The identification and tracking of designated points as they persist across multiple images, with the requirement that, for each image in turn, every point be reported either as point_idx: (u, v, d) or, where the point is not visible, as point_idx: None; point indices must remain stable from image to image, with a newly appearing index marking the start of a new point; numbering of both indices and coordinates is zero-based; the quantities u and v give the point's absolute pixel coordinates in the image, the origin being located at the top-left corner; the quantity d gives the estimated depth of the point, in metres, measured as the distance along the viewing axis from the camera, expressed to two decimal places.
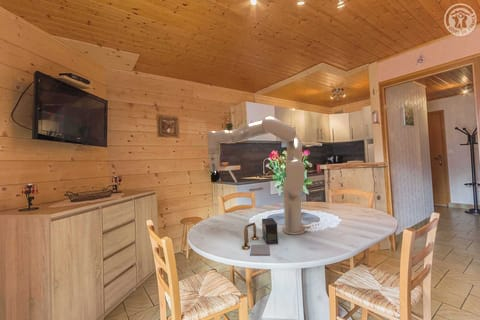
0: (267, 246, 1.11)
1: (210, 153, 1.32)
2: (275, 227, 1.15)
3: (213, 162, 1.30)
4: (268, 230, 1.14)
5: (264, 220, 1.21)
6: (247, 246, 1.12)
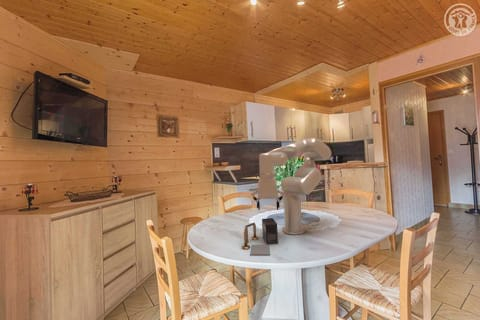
0: (267, 246, 1.11)
1: (273, 178, 1.17)
2: (275, 227, 1.15)
3: None
4: (268, 231, 1.14)
5: (264, 220, 1.21)
6: (247, 246, 1.12)
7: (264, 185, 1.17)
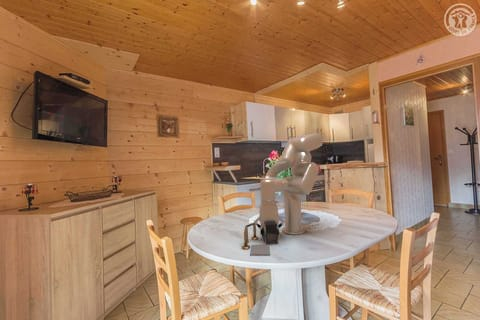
0: (267, 246, 1.11)
1: (275, 204, 1.18)
2: (275, 227, 1.15)
3: None
4: (268, 230, 1.14)
5: None
6: (247, 246, 1.12)
7: (266, 212, 1.17)
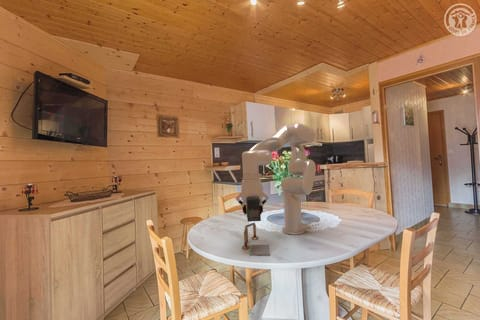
0: (267, 246, 1.11)
1: (258, 178, 1.07)
2: (257, 202, 1.04)
3: None
4: (250, 206, 1.04)
5: None
6: (247, 246, 1.12)
7: (248, 186, 1.07)
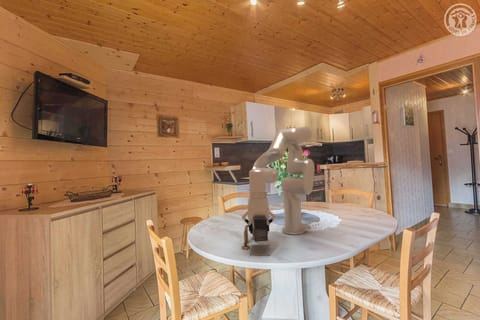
0: (267, 246, 1.11)
1: (265, 197, 1.05)
2: (264, 222, 1.02)
3: (268, 207, 1.07)
4: (257, 226, 1.02)
5: None
6: (247, 246, 1.12)
7: (255, 205, 1.05)
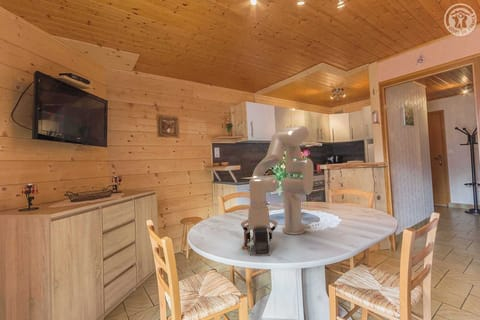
0: None
1: (265, 206, 1.06)
2: (265, 235, 1.03)
3: None
4: (258, 238, 1.03)
5: None
6: (247, 246, 1.12)
7: (255, 215, 1.05)
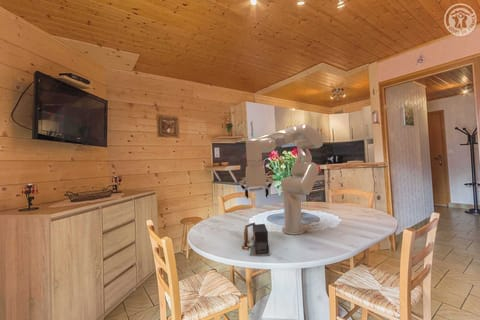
0: None
1: (261, 164, 1.12)
2: (265, 235, 1.03)
3: (265, 174, 1.14)
4: (258, 238, 1.03)
5: (254, 226, 1.09)
6: (247, 246, 1.12)
7: (252, 172, 1.12)
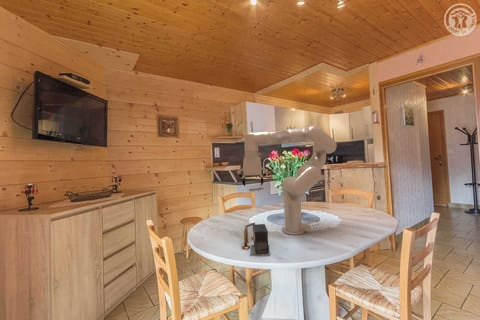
0: None
1: (257, 155, 1.25)
2: (265, 235, 1.03)
3: None
4: (258, 238, 1.03)
5: (254, 226, 1.09)
6: (247, 246, 1.12)
7: (249, 162, 1.25)
